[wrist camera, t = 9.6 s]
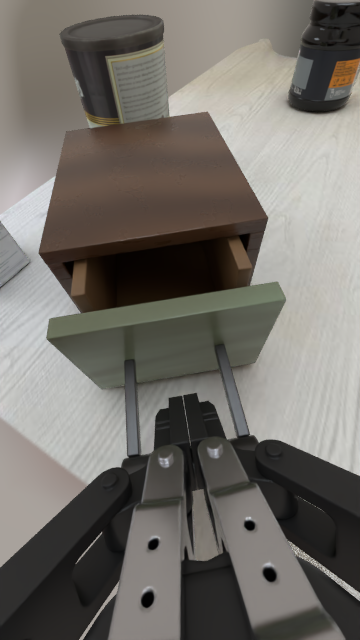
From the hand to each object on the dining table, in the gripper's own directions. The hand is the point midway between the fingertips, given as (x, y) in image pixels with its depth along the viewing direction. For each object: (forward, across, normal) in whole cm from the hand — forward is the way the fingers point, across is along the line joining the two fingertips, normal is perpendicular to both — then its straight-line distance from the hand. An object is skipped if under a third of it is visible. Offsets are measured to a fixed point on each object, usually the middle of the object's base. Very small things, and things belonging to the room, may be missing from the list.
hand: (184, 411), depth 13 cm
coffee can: (+29, +1, -21) cm, 36 cm away
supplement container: (+40, -33, -32) cm, 61 cm away
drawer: (+8, 0, -2) cm, 8 cm away
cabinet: (+15, 0, -8) cm, 17 cm away
